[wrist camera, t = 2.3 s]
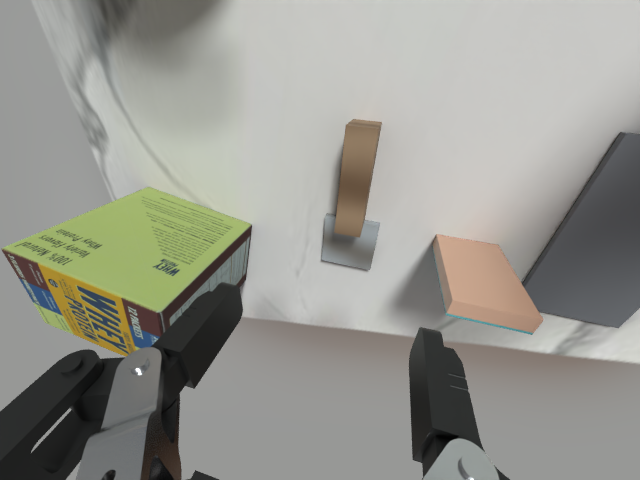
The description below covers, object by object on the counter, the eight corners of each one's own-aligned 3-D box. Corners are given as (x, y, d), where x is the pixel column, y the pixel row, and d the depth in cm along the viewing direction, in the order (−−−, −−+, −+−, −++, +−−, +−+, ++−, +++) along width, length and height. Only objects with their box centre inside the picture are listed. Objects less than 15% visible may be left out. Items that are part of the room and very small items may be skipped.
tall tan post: (335, 117, 24) (325, 122, 21) (401, 124, 23) (401, 131, 20) (323, 255, 33) (314, 275, 29) (370, 265, 32) (367, 286, 28)
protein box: (146, 185, 34) (-4, 246, 21) (253, 223, 33) (160, 313, 20) (156, 246, 40) (42, 323, 27) (247, 281, 39) (172, 379, 26)
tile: (436, 234, 27) (452, 300, 19) (498, 245, 26) (543, 319, 18) (432, 246, 28) (445, 314, 20) (491, 257, 27) (532, 334, 19)
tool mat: (620, 132, 19) (626, 133, 19) (792, 148, 18) (804, 150, 17) (510, 301, 29) (512, 305, 29) (614, 323, 27) (618, 328, 27)
